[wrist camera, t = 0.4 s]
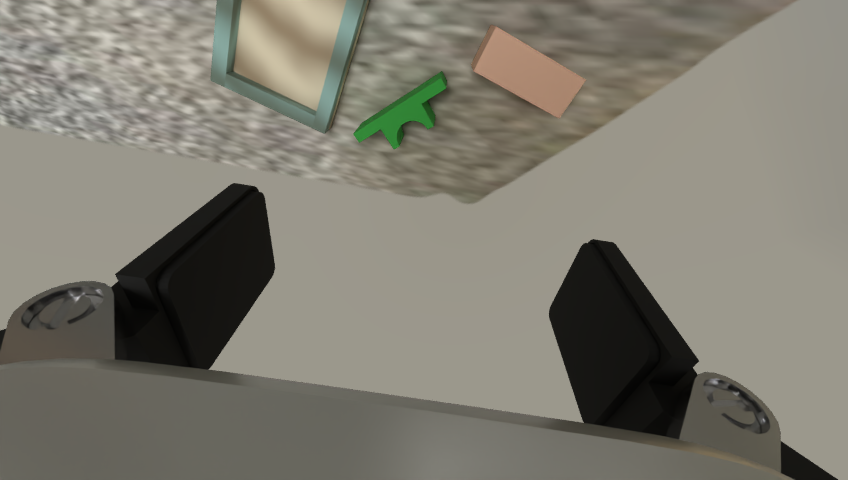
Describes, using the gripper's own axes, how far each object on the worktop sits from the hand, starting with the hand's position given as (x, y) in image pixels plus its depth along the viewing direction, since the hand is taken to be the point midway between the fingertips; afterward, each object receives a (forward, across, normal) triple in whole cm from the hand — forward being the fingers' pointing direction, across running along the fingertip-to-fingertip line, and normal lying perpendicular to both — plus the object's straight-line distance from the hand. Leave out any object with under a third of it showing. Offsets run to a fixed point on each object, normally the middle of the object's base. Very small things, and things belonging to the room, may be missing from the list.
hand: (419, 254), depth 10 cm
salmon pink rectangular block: (+33, -8, -2) cm, 34 cm away
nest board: (+33, +16, -3) cm, 37 cm away
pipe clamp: (+33, +4, +4) cm, 33 cm away
